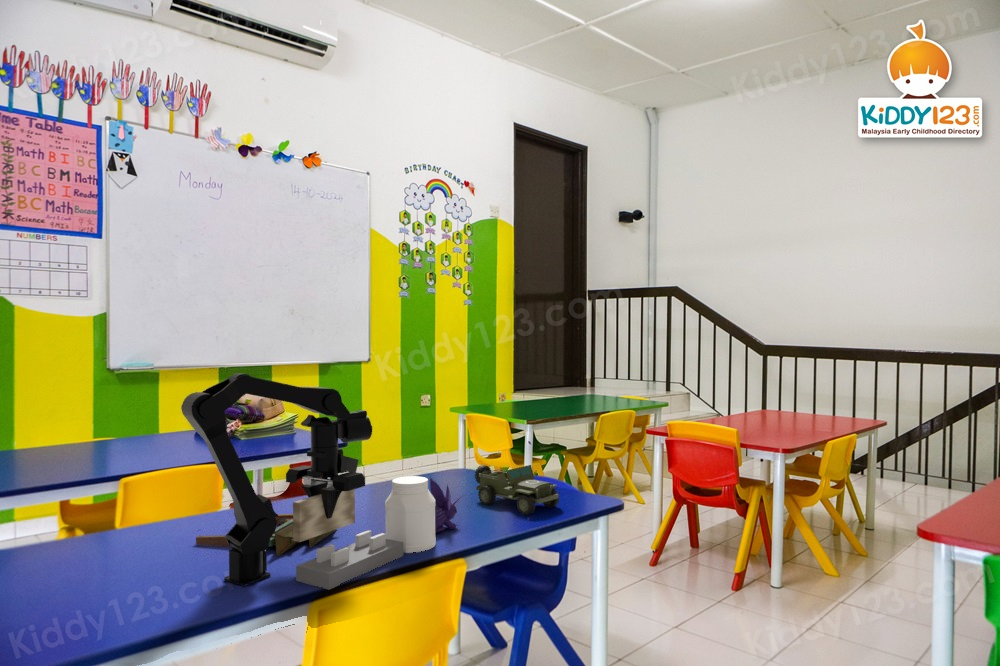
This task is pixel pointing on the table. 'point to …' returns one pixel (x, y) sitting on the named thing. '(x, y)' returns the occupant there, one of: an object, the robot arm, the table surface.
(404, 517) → the jar
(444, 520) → the creature
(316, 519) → the birch door
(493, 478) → the toy jeep
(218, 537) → the miniature gate
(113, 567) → the table surface
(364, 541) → the hinge plinth
